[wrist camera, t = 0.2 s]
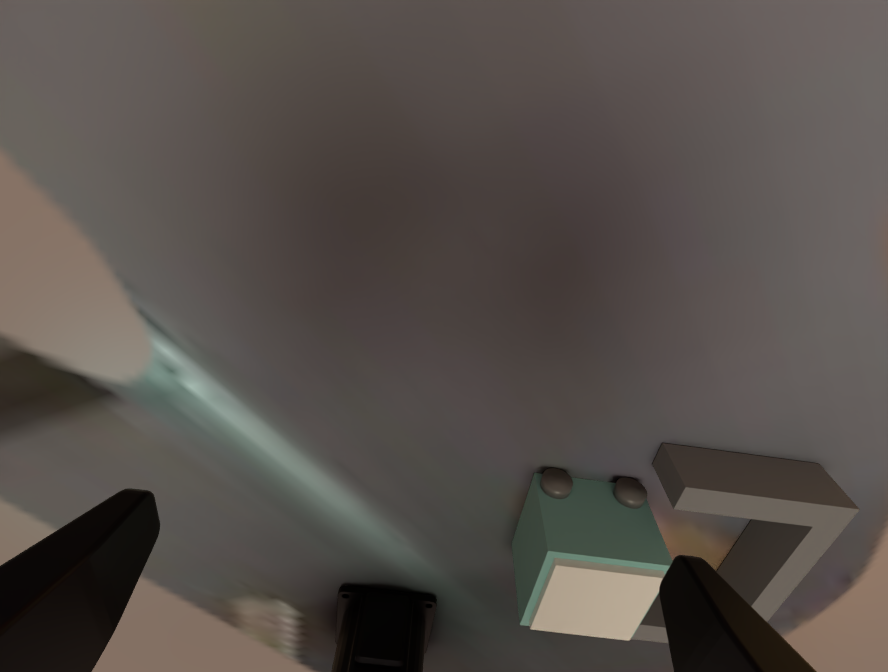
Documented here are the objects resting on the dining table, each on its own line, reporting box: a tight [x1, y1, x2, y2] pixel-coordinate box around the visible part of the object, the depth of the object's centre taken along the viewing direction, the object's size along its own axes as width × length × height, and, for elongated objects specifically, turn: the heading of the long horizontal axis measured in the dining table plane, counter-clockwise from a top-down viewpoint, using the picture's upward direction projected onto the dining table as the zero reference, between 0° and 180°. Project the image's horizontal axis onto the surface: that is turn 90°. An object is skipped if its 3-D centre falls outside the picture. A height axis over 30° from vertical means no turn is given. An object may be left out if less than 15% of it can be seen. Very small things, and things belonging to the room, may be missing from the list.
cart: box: [512, 468, 673, 641], centre depth 26 cm, size 7×6×5 cm
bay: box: [631, 443, 860, 643], centre depth 27 cm, size 12×8×3 cm
